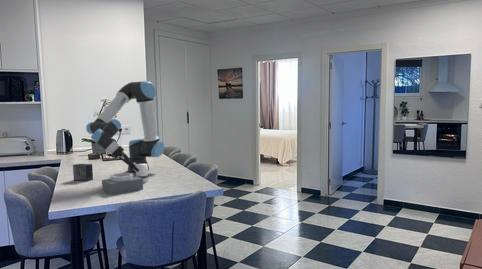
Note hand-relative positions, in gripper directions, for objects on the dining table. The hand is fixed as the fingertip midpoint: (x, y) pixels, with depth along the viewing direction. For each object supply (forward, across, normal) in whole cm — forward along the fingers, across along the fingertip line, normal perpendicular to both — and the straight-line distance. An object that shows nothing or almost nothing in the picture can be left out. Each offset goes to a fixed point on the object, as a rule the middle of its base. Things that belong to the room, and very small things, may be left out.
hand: (141, 172), depth 215 cm
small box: (-20, -24, -29) cm, 43 cm away
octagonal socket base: (-4, +16, -13) cm, 21 cm away
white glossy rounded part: (+4, 0, -4) cm, 6 cm away
